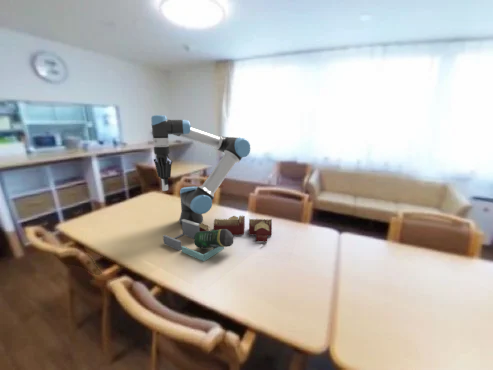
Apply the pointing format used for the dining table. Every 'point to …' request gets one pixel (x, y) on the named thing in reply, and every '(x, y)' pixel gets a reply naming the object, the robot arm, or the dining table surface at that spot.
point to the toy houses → (243, 226)
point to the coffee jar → (213, 238)
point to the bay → (188, 230)
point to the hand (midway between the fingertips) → (165, 190)
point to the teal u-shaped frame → (199, 255)
